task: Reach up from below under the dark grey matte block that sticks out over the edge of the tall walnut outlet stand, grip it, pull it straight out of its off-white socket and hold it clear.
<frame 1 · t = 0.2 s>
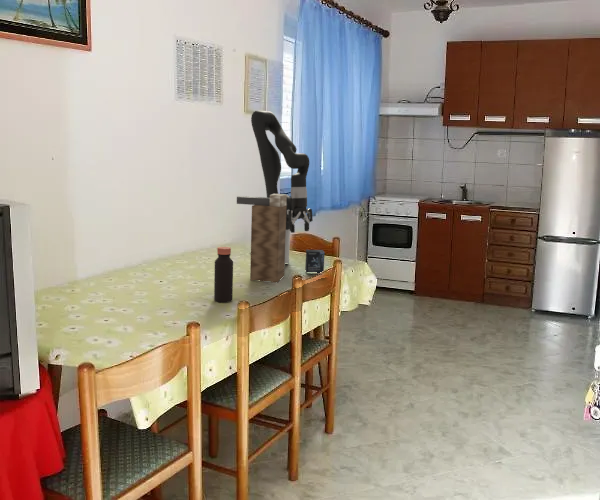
hand: (299, 231, 297), 18 cm above the table, tool pointing down, fingers open, 8 cm apart
bottle: (223, 301, 239), on the table
dark grey matte block: (259, 204, 273), point 32 cm above the table, touching stand
box: (314, 273, 292), on the table
stand: (267, 278, 277), on the table
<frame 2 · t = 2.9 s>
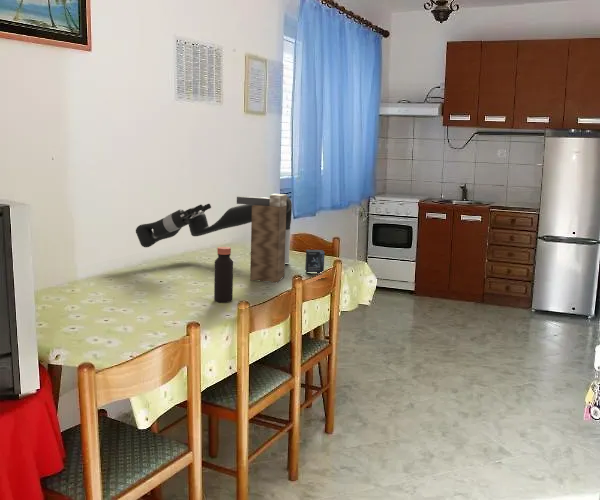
hand: (206, 205, 279), 30 cm above the table, tool pointing upward, fingers open, 8 cm apart
nothing on the table moved.
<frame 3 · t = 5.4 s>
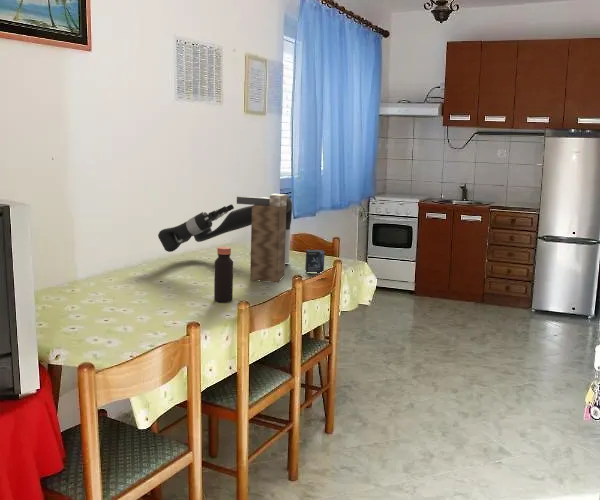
hand: (229, 207, 276), 30 cm above the table, tool pointing upward, fingers open, 8 cm apart
nothing on the table moved.
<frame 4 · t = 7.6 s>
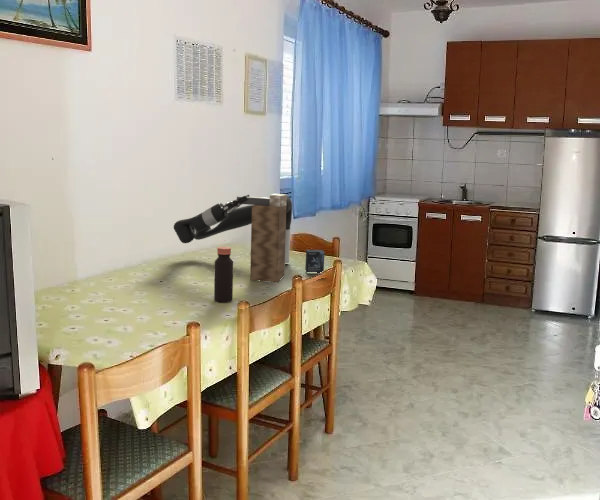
hand: (248, 197, 273), 35 cm above the table, tool pointing upward, fingers closed on dark grey matte block, 4 cm apart
dark grey matte block: (259, 204, 273), point 32 cm above the table, touching gripper, stand
everything else where it was.
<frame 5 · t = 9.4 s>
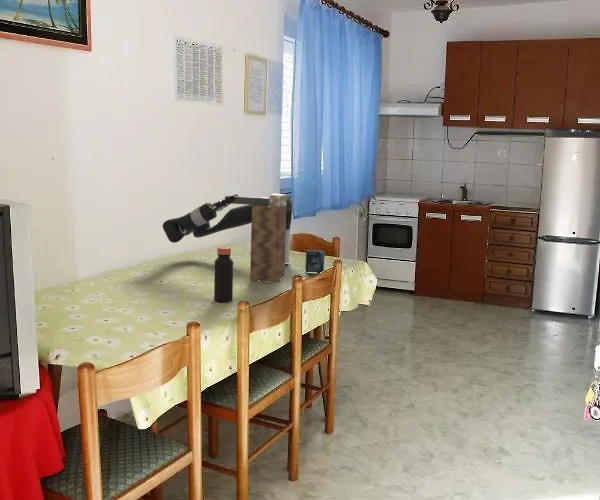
hand: (236, 196, 274), 35 cm above the table, tool pointing upward, fingers closed on dark grey matte block, 4 cm apart
dark grey matte block: (247, 203, 274), point 32 cm above the table, touching gripper
everything else where it was.
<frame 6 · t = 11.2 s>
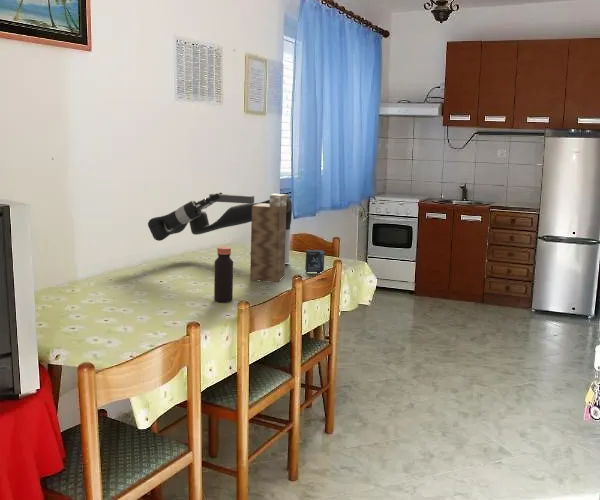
hand: (220, 194, 276), 35 cm above the table, tool pointing upward, fingers closed on dark grey matte block, 4 cm apart
dark grey matte block: (231, 202, 275), point 32 cm above the table, touching gripper
everything else where it was.
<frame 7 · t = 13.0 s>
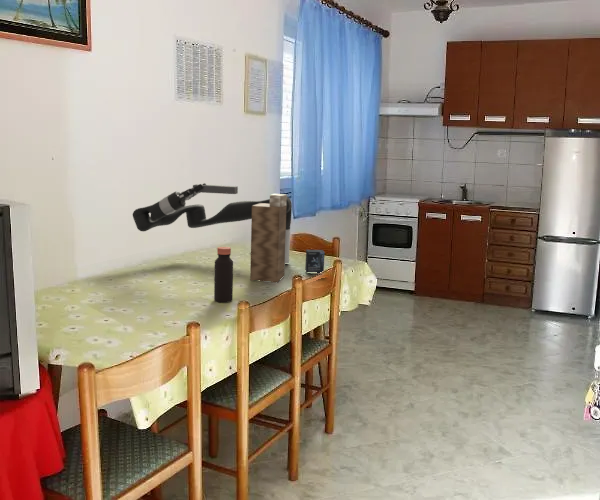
hand: (204, 185, 277), 39 cm above the table, tool pointing upward, fingers closed on dark grey matte block, 4 cm apart
dark grey matte block: (215, 192, 276), point 36 cm above the table, touching gripper
everything else where it was.
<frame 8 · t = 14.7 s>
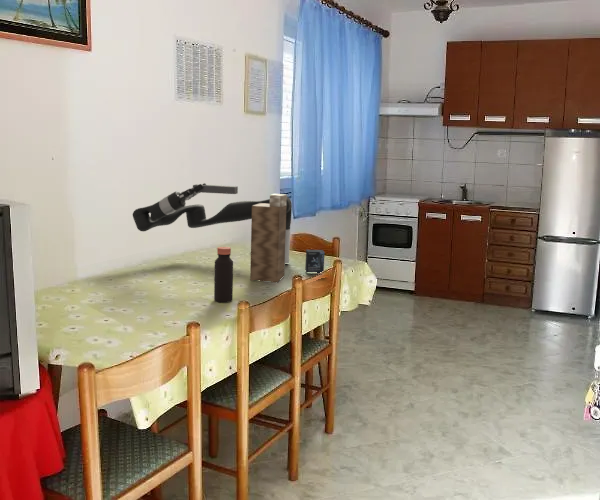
hand: (204, 185, 277), 39 cm above the table, tool pointing upward, fingers closed on dark grey matte block, 4 cm apart
dark grey matte block: (215, 192, 276), point 36 cm above the table, touching gripper
everything else where it was.
at the end: dark grey matte block moved 20.3 cm from its start; the gripper is holding dark grey matte block; dark grey matte block touching gripper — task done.
